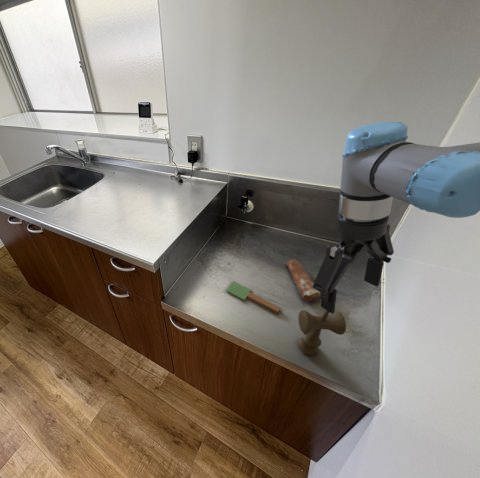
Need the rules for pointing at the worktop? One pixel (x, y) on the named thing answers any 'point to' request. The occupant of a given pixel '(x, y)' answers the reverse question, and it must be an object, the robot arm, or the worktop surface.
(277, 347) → the worktop surface
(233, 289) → the spatula
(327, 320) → the kendama
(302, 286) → the reddish brown tapered cylinder
